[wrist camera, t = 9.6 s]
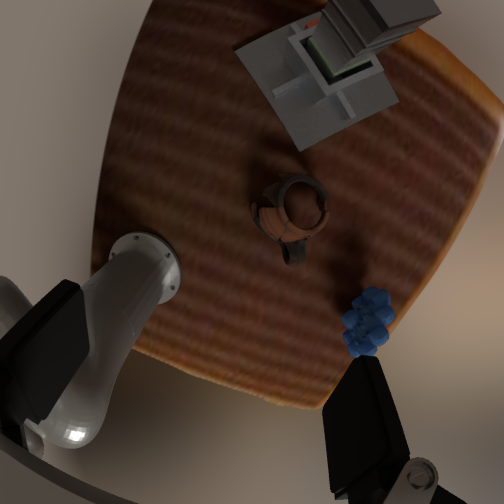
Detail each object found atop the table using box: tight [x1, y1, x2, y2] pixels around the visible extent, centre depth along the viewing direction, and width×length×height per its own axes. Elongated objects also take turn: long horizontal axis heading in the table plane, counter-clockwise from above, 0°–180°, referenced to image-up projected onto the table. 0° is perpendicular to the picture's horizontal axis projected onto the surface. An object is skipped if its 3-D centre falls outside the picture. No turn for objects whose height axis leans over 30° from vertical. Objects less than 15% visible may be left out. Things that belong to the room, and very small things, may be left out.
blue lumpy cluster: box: [341, 286, 395, 357], centre depth 39 cm, size 12×7×12 cm, turn 165°
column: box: [306, 0, 441, 82], centre depth 17 cm, size 4×4×19 cm
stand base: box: [234, 11, 399, 152], centre depth 27 cm, size 16×16×11 cm
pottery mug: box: [251, 173, 330, 267], centre depth 38 cm, size 12×10×8 cm
